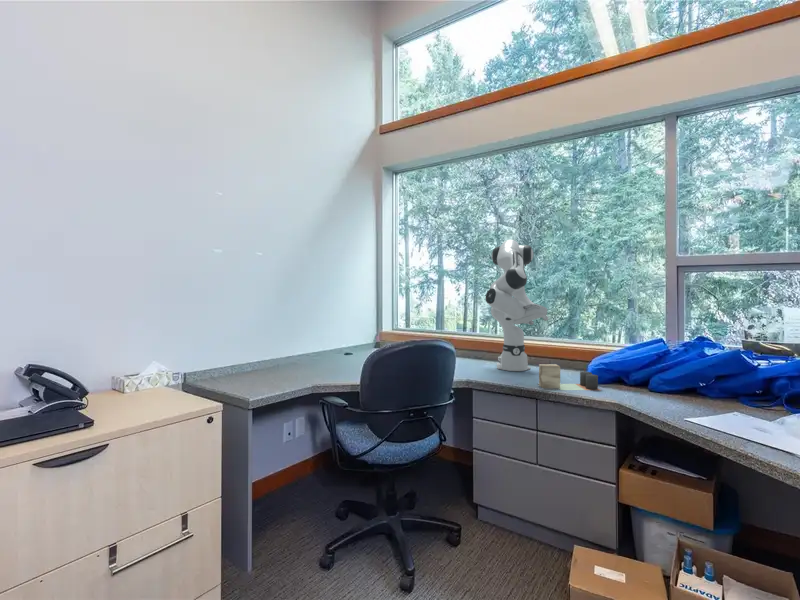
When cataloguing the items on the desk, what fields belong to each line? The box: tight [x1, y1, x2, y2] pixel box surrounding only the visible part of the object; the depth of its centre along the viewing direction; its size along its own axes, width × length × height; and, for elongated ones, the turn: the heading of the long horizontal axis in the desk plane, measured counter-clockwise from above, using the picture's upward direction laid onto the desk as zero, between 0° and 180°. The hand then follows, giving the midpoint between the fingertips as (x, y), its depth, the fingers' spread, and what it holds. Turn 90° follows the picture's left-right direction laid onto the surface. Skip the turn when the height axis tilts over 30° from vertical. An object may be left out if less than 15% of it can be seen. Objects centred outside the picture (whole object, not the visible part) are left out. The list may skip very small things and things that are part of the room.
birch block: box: [538, 363, 561, 389], centre depth 185 cm, size 5×8×10 cm, turn 88°
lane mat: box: [537, 383, 601, 391], centre depth 185 cm, size 12×25×1 cm, turn 88°
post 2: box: [586, 373, 599, 391], centre depth 181 cm, size 5×5×6 cm
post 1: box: [579, 371, 593, 387], centre depth 187 cm, size 5×5×6 cm
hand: (539, 321), depth 188 cm, fingers open, 8 cm apart
